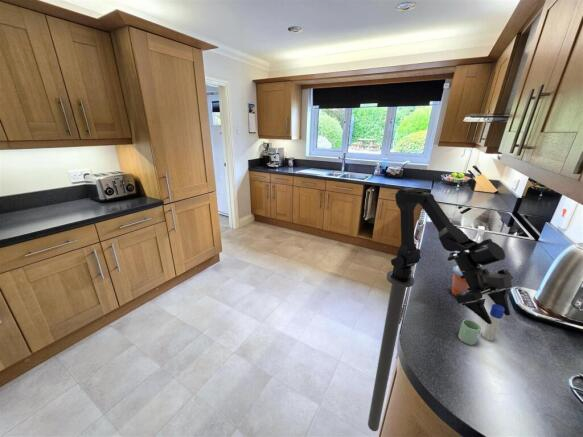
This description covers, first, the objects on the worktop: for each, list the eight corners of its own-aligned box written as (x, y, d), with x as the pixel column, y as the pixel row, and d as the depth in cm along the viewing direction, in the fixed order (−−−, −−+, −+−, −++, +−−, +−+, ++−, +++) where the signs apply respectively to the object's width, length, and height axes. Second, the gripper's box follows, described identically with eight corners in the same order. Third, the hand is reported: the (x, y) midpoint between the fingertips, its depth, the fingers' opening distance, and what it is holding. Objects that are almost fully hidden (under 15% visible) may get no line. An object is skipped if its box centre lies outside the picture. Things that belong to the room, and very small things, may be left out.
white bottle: (455, 286, 101) (471, 231, 93) (459, 274, 110) (473, 223, 102) (475, 293, 97) (493, 236, 89) (477, 279, 106) (493, 227, 98)
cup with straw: (450, 284, 103) (461, 246, 97) (476, 294, 97) (489, 254, 91) (444, 294, 97) (455, 253, 91) (471, 305, 90) (485, 262, 85)
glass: (456, 337, 76) (460, 323, 74) (461, 330, 79) (465, 317, 77) (473, 347, 73) (478, 333, 71) (477, 339, 75) (482, 325, 73)
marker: (482, 337, 76) (492, 307, 72) (482, 332, 78) (492, 302, 74) (493, 342, 74) (505, 311, 71) (493, 336, 77) (504, 306, 73)
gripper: (475, 268, 68) (509, 326, 62) (513, 256, 75) (547, 307, 69) (443, 277, 78) (470, 329, 72) (480, 266, 85) (507, 312, 79)
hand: (499, 319), depth 73 cm, fingers open, 9 cm apart
